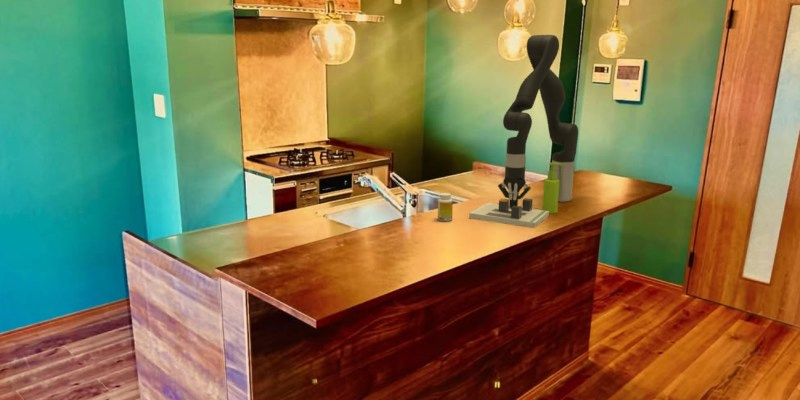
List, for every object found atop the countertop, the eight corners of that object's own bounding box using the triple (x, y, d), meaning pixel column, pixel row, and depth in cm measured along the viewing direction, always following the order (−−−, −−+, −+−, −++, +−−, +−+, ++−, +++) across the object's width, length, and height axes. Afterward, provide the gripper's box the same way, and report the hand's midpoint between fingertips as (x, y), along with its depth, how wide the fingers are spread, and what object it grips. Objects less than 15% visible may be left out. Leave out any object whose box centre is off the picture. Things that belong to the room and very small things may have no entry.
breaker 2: (524, 207, 223) (525, 198, 222) (531, 208, 222) (532, 199, 221) (522, 209, 221) (522, 199, 220) (529, 210, 219) (530, 200, 218)
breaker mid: (501, 209, 222) (501, 198, 220) (508, 210, 220) (509, 199, 219) (498, 210, 219) (499, 200, 218) (505, 211, 218) (506, 201, 217)
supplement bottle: (454, 221, 214) (455, 195, 211) (441, 222, 212) (441, 196, 209) (448, 217, 219) (449, 191, 216) (435, 218, 217) (435, 193, 215)
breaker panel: (486, 207, 233) (486, 202, 232) (548, 216, 220) (548, 210, 220) (469, 217, 218) (469, 212, 217) (534, 227, 205) (534, 222, 205)
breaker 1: (513, 215, 213) (514, 205, 212) (521, 216, 211) (521, 206, 210) (510, 217, 210) (511, 207, 209) (518, 218, 209) (519, 208, 208)
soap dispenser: (560, 214, 223) (563, 164, 218) (542, 213, 224) (545, 164, 219) (559, 210, 229) (562, 161, 224) (541, 209, 230) (545, 161, 225)
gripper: (535, 164, 213) (532, 208, 217) (502, 161, 219) (500, 204, 224) (529, 168, 207) (526, 213, 211) (495, 165, 213) (493, 209, 217)
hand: (513, 208), depth 217 cm, fingers closed
